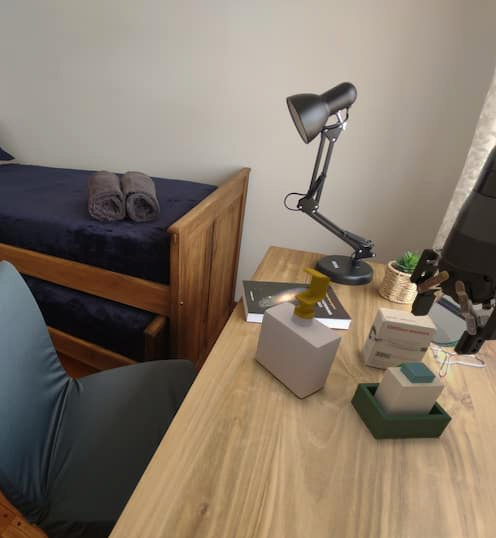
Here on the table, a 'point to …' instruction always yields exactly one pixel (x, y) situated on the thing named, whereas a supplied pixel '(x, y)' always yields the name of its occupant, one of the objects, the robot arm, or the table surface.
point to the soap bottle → (298, 340)
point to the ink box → (397, 338)
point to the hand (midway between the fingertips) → (438, 332)
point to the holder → (397, 417)
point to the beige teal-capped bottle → (408, 390)
